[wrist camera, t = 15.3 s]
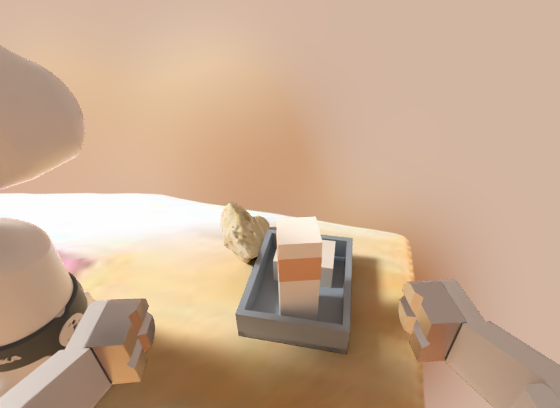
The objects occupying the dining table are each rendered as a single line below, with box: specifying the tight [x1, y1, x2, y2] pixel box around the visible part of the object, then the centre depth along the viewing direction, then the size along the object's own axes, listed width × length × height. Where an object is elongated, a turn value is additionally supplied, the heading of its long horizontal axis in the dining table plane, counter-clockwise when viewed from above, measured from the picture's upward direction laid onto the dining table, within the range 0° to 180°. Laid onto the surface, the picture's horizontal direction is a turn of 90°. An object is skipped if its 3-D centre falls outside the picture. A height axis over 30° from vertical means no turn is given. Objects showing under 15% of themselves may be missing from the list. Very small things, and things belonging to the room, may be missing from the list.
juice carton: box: [276, 217, 322, 321], centre depth 47 cm, size 6×6×16 cm
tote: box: [236, 229, 353, 354], centre depth 54 cm, size 16×20×5 cm
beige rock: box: [221, 202, 269, 263], centre depth 63 cm, size 15×7×15 cm
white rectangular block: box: [273, 240, 336, 288], centre depth 57 cm, size 10×7×4 cm
